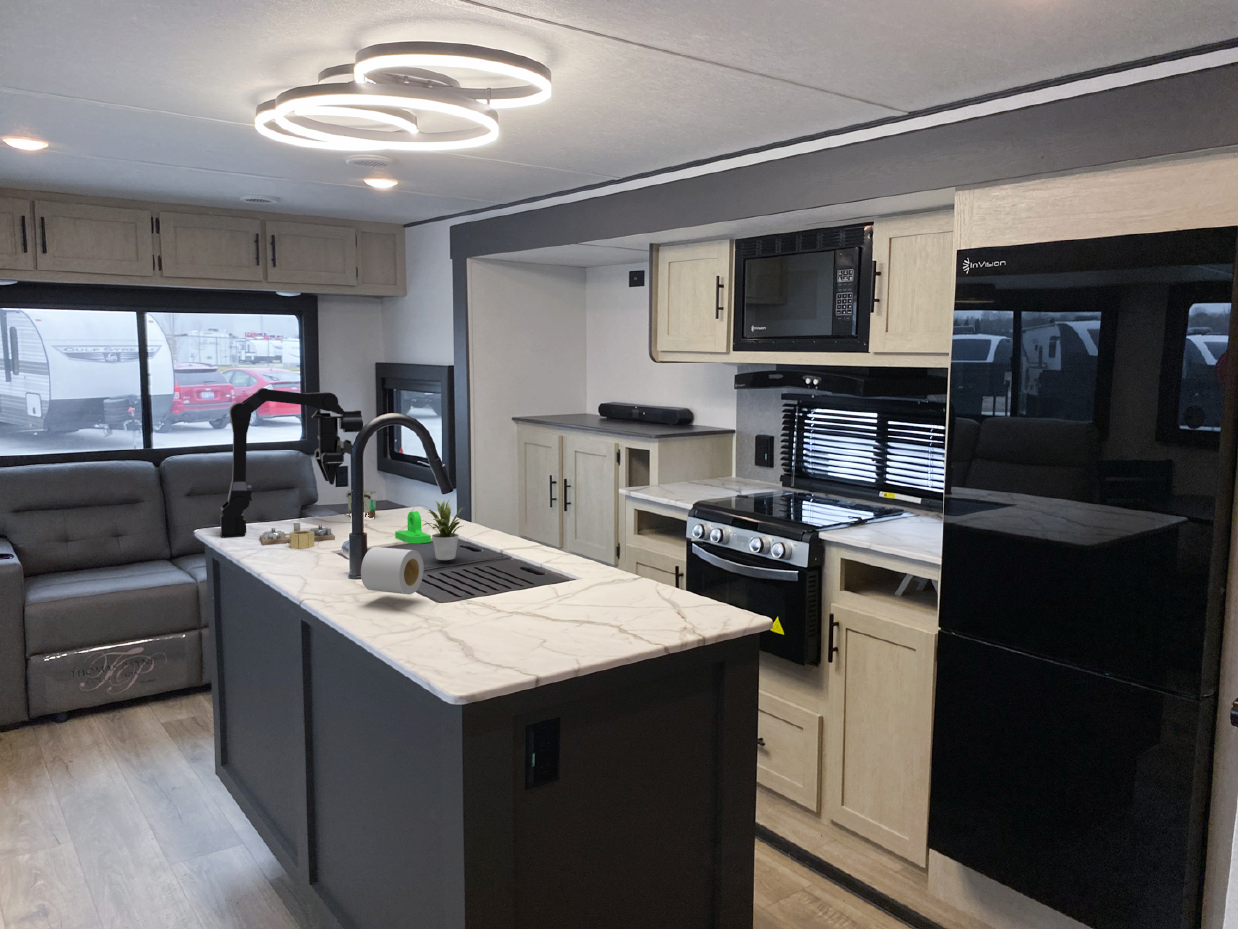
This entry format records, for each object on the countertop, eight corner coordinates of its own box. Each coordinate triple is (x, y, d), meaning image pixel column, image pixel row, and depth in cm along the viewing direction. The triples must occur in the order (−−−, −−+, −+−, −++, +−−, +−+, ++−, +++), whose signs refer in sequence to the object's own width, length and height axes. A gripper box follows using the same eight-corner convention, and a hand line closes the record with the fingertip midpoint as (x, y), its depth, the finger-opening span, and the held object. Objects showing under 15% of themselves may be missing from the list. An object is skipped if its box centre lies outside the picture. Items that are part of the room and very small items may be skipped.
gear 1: (263, 540, 263) (263, 530, 262) (261, 536, 268) (261, 527, 268) (285, 538, 265) (285, 529, 265) (283, 535, 271) (283, 526, 270)
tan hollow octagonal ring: (291, 549, 256) (291, 535, 255) (289, 545, 261) (288, 531, 261) (315, 547, 258) (315, 533, 258) (312, 543, 264) (311, 530, 264)
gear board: (262, 545, 261) (262, 528, 260) (259, 539, 270) (259, 522, 269) (335, 540, 270) (334, 523, 269) (329, 534, 279) (329, 518, 278)
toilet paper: (423, 589, 212) (423, 546, 211) (399, 599, 202) (398, 554, 201) (386, 585, 215) (386, 543, 214) (361, 594, 206) (360, 551, 205)
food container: (386, 521, 303) (385, 491, 302) (372, 524, 298) (371, 493, 297) (360, 518, 310) (360, 488, 309) (346, 520, 305) (345, 490, 304)
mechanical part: (395, 538, 275) (394, 511, 275) (413, 536, 279) (413, 510, 278) (411, 544, 266) (411, 517, 265) (430, 542, 269) (430, 515, 269)
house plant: (406, 555, 248) (405, 496, 246) (452, 550, 256) (452, 492, 255) (429, 565, 237) (428, 503, 235) (476, 558, 245) (476, 498, 243)
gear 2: (311, 536, 269) (311, 527, 268) (308, 533, 274) (308, 524, 274) (332, 535, 271) (332, 526, 271) (329, 531, 277) (329, 523, 276)
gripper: (360, 434, 277) (361, 485, 279) (349, 430, 294) (350, 478, 296) (322, 435, 273) (323, 486, 274) (313, 431, 289) (314, 479, 291)
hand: (329, 482), depth 284 cm, fingers open, 9 cm apart
